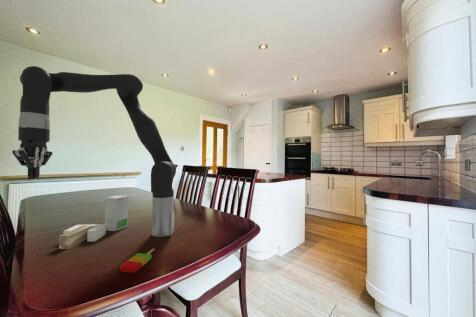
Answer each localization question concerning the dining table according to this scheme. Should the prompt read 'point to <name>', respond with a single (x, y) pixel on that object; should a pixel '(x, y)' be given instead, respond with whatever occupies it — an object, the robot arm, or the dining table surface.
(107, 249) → the dining table surface
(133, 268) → the popsicle
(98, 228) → the end cap
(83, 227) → the beige wooden block
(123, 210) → the skincare box
